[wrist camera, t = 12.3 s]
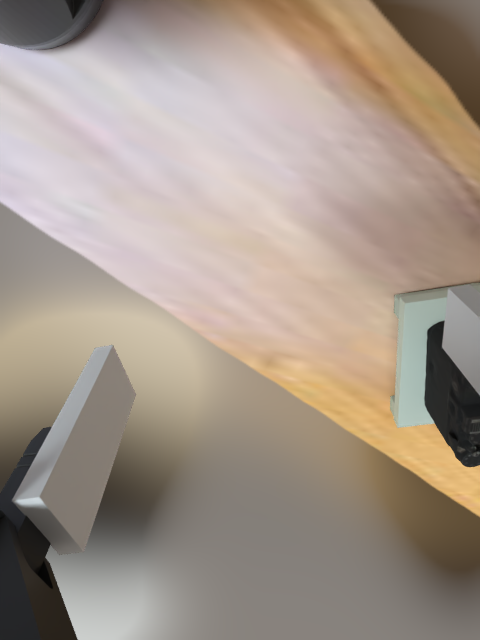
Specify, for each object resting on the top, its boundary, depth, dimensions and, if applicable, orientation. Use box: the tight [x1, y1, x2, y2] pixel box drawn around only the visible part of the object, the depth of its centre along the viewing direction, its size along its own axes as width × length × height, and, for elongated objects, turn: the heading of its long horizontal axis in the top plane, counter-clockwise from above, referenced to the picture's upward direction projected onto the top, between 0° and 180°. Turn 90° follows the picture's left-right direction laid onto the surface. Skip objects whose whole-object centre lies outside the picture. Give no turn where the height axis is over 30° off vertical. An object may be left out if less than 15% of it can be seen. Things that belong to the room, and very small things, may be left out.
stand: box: [390, 282, 480, 428], centre depth 46 cm, size 19×16×3 cm
